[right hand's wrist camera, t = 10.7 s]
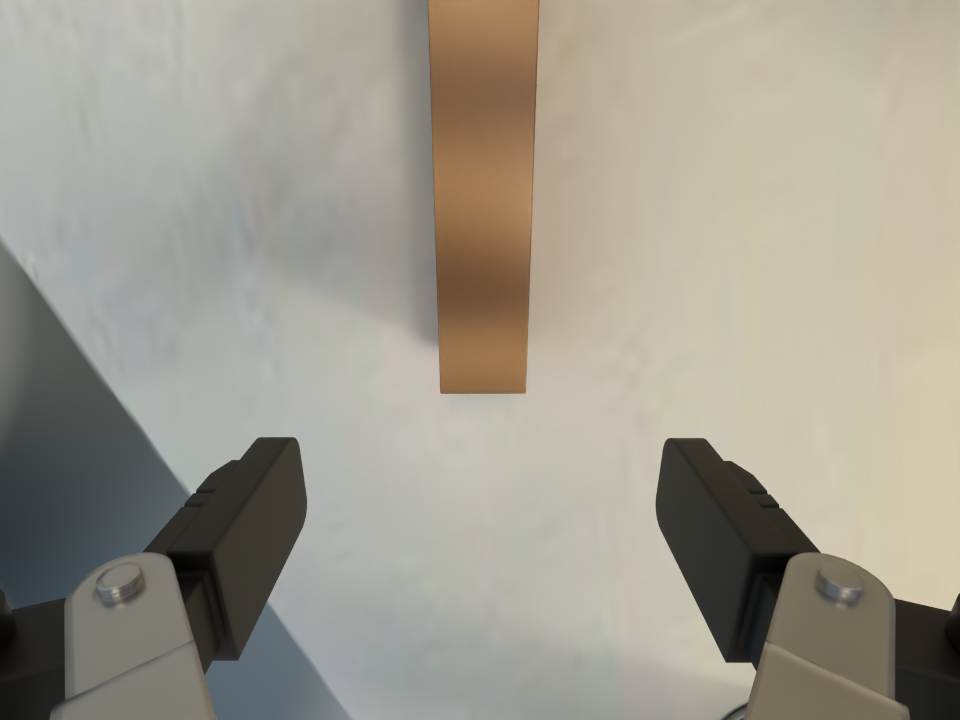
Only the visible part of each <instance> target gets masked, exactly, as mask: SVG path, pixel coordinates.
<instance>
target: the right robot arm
mask: <svg viewBox="0 0 960 720" xmlns="http://www.w3.org/2000/svg"><path fill="white" fill-rule="evenodd" d="M306 511H307V496H306V489H305V482H304V475H303V468H302V461H301V454H300V448H299V444H298V441H297V440H296V438H294V437H260V438H258V439H256V440H255V442H254V443H253V444H252V445H251V447H250V448H249V449H248V450H247V451H246V453H245V454H244V455H243V456H242V458H241V459H240V460H231V461H230V462H228V463H227V464H225V465H224V466H222V467H220V468H219V469H217V470H216V471H214V472H213V473H211V474H210V475H209V476H208V477H207V478H206V479H205V481H204V482H203V483H202V484H201V485H200V486H199V488H198V489H197V490H196V493H193V495H192V496H191V497H190V498H189V499H188V500H187V501H186V503H185V506H184V507H181V508H180V510H179V511H178V512H177V513H176V514H175V515H174V516H173V518H172V519H171V520H170V521H169V522H168V523H167V525H166V526H165V527H164V528H163V529H162V530H161V532H160V533H159V534H158V535H157V536H156V537H155V538H154V540H153V541H152V542H151V543H150V544H149V545H148V547H147V548H146V549H145V550H144V551H143V552H142V553H137V554H132V555H127V556H124V557H121V558H118V559H115V560H113V561H110V562H108V563H106V564H104V565H102V566H100V567H98V568H97V569H95V570H93V571H92V572H90V573H89V574H88V575H86V576H85V577H84V578H82V579H81V580H80V581H79V582H78V583H77V584H76V585H75V586H74V587H73V588H72V590H71V591H70V593H69V594H68V596H67V598H63V599H58V600H54V601H49V602H45V603H40V604H36V605H32V606H27V607H23V608H18V609H14V610H11V609H10V606H9V604H8V602H7V599H6V597H5V595H4V593H3V591H2V590H0V720H217V719H216V715H215V712H214V708H213V705H212V701H211V697H210V694H209V690H208V687H207V683H206V680H205V674H206V672H207V670H208V668H209V666H210V664H211V663H212V661H213V660H238V659H239V657H240V655H241V653H242V651H243V649H244V647H245V645H246V643H247V641H248V639H249V637H250V635H251V633H252V631H253V629H254V626H255V624H256V622H257V620H258V618H259V616H260V614H261V612H262V610H263V608H264V606H265V604H266V602H267V600H268V598H269V596H270V594H271V592H272V589H273V587H274V585H275V583H276V581H277V579H278V577H279V575H280V573H281V571H282V569H283V567H284V565H285V563H286V561H287V559H288V557H289V554H290V552H291V550H292V548H293V546H294V544H295V542H296V540H297V538H298V536H299V534H300V532H301V530H302V528H303V525H304V522H305V518H306ZM656 515H657V520H658V524H659V527H660V529H661V531H662V533H663V535H664V537H665V540H666V542H667V544H668V546H669V548H670V550H671V552H672V554H673V556H674V558H675V560H676V562H677V564H678V566H679V568H680V570H681V572H682V574H683V576H684V578H685V580H686V582H687V584H688V586H689V588H690V590H691V592H692V594H693V596H694V599H695V601H696V603H697V605H698V607H699V609H700V611H701V613H702V615H703V617H704V619H705V621H706V623H707V625H708V627H709V629H710V631H711V633H712V635H713V637H714V639H715V641H716V643H717V645H718V647H719V649H720V651H721V653H722V655H723V658H724V660H725V662H726V663H752V664H753V666H754V668H755V670H756V671H757V672H756V676H755V680H754V683H753V687H752V690H751V694H750V697H749V701H748V705H747V707H744V708H742V709H740V710H738V711H737V712H735V713H734V714H732V715H731V716H730V717H728V718H727V719H726V720H960V594H959V595H958V597H957V599H956V601H955V604H954V606H953V608H952V611H947V610H942V609H938V608H934V607H929V606H925V605H920V604H916V603H911V602H907V601H903V600H898V599H895V598H893V596H892V594H891V593H890V591H889V590H888V588H887V587H886V586H885V585H884V584H883V583H882V582H881V581H880V580H879V579H878V578H876V577H875V576H874V575H872V574H871V573H870V572H868V571H867V570H865V569H863V568H862V567H860V566H858V565H856V564H854V563H852V562H850V561H847V560H845V559H842V558H839V557H836V556H833V555H828V554H823V553H821V552H820V551H819V550H818V549H817V548H816V547H815V545H814V544H813V543H812V542H811V541H810V540H809V538H808V537H807V536H806V535H805V534H804V533H803V532H802V530H801V529H800V528H799V527H798V526H797V525H796V524H795V522H794V521H793V520H792V519H791V518H790V517H789V516H788V514H787V513H786V512H785V511H784V510H783V509H782V508H779V504H778V503H777V502H776V501H775V500H774V498H773V497H772V496H771V495H768V494H767V490H766V489H765V488H764V487H763V486H762V485H761V483H760V482H759V481H758V480H757V479H756V478H755V477H754V475H752V474H751V473H749V472H748V471H746V470H744V469H743V468H741V467H740V466H738V465H737V464H735V463H733V462H732V461H723V460H722V458H721V457H720V456H719V455H718V453H717V452H716V451H715V450H714V448H713V447H712V446H711V445H710V444H709V442H708V441H707V440H706V439H704V438H669V439H667V440H666V442H665V444H664V448H663V454H662V460H661V467H660V474H659V481H658V488H657V495H656Z"/></svg>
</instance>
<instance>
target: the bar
mask: <svg viewBox="0 0 960 720" xmlns="http://www.w3.org/2000/svg"><path fill="white" fill-rule="evenodd" d="M538 23H539V0H428V24H429V55H430V86H431V117H432V148H433V179H434V210H435V241H436V272H437V303H438V334H439V365H440V393H441V394H499V393H526V372H527V343H528V314H529V285H530V256H531V227H532V198H533V169H534V139H535V110H536V81H537V52H538Z"/></svg>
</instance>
